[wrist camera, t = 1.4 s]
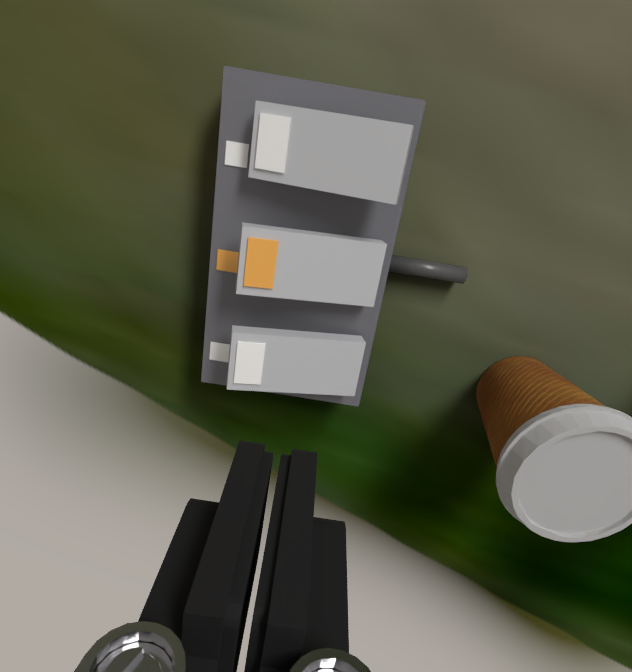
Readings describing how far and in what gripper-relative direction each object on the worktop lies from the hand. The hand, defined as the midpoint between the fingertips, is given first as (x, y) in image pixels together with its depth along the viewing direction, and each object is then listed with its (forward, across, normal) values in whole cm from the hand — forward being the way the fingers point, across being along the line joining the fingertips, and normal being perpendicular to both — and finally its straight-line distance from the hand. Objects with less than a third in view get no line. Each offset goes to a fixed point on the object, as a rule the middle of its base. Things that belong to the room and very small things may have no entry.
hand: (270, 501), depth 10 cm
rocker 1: (+21, 0, -7) cm, 22 cm away
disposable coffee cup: (+27, -18, +9) cm, 34 cm away
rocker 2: (+21, 0, 0) cm, 21 cm away
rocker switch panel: (+27, -2, 0) cm, 27 cm away
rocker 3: (+21, 0, +7) cm, 22 cm away
